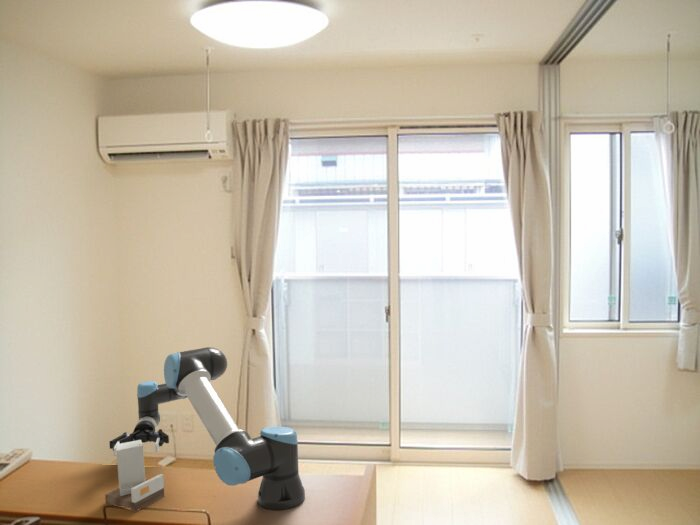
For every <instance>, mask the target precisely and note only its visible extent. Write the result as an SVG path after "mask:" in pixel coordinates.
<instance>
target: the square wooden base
mask: <svg viewBox="0 0 700 525" xmlns="http://www.w3.org/2000/svg"><path fill="white" fill-rule="evenodd" d="M104 496H105V498H104V500H105V504H106V505H109V506H112V505H114V507H116V506H124V507H128V508H131V509H130V510H132V511H131V512H133V511H134V513H136V512H139V511H138V509H140V508H142V509H144V508H146V507H148V506H150V505H151V504H154V503H155V502H157V501H159V500H160V499H163V498H164V497H165V482H164V474H162V473H160V474H158V475H155V476H153V477H151V478H150V479H148V480H147V479H146V480H145V482H143V483H141V484H139V485H137V486H135V487H133V488H131V494H128V495H124V496H120V489H119V487H118V488H116V489H113V490H112V491H110V492H108V493H105V494H104Z"/></svg>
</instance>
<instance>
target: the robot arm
mask: <svg viewBox="0 0 700 525" xmlns="http://www.w3.org/2000/svg"><path fill="white" fill-rule="evenodd" d="M227 368H228V360H227V357H226V354H225V353H223V351H222V350H220V349H218V348H215V347H209V346H207V347H202V348H197V349H196V348H195V349H191V350H186V351H185V350H184V351H177V352H174V353H171V354H168V356H167V357H166V358H165V360H164V364H163V375H164V376H163V378H164V381H165V382H164V383H162V384H158V383H157V382H156V381H155V380H148V381H146V380H145V381H143V382H142V381H141V382H140V383H138V385H137V389H136V392H137V393H136V396H137V406H138V407H137V408H138V412H137V413H138V414H137V415H138V421H137V423H136V424H135V427H134V429H133V431H132V433H129V434H128V432H127V431H125V432H123V433H122V434H120V435H119V436H117V437H116V438H113V439H111V440H110V441H109V449H110V450H112V452H113V456H114V457H117V453H116V444H121V443H126V442H131V441H136V440H141V441H142V444H144V443H148V442H149V443H151V442H152V443H155V444H154V448H155V449H154V450H155V452H156V453H157V452H159V449H160V447H162V446H163V444H169V443H170V437H169V435H168V434H167V433H165V431H163V429H161V428H160V429H158V426H159V425H160V422H161V415H160V412H159V405H160V404H165V403H170V402H174V401H178V400H184V399H188V400H189V402H190V404H191V405H192V407H193V409H194V410H195V412H196V414H197V415H198V417H199V419H200V421H201V422H202V424H203V425H204V428H205V429H206V431H207V432H208V434H209V436H210V438H211V439H212V441H213V443H214V445H215V446H214V447H215V448H214V455H213V459H212V461H213V466H214V470H215V473H216V475H217V476H218V478H219V480H220V481H221V482H223V483H224V484H225V485H228V486H232V487H234V486H237V485H242V484H243V485H244V484H246V483H248V482H250V481H252V480H255V479H258V478H261V477H262V478H261V482H260V486H259V489H258V493H257V503H258V505H260V507H262V508H264V509H268V510H275V511H277V510H278V511H281V510H287V509H288V510H289V509H292V508H294V507H297V506H299V505H301V504H302V503H303V502H304V500H306V493H305V492H306V491H305V488H304V486H303V482H302V479H301V477H300V474H299V472H300V471H299V452H298V451H299V448H298V445H299V442H298V434H297V432H296V431H295V430H294V429H292V428H290V427H287V426H280V425H279V426H275V425H274V426H266V427H263V428H262V429H260V433H259V435H260V436H257V437H254V438H251V435H250V434H249V433H248V432H247V430H244V429H240V428H239V425H237V422H235V419H233V417H232V415H231V413H230V412H229V410H228V408H226V406H225V404H224V402H223V401H222V399H221V398H220V396H219V394H218V393H217V392H216V390H215V389H214V386H213V385H212V384H211V382H210V381H214V380H217V379H218V378H220V377H222V376H223V375H224V374H225V372H226V370H227ZM157 429H158V430H157Z"/></svg>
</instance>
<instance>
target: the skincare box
mask: <svg viewBox="0 0 700 525" xmlns="http://www.w3.org/2000/svg"><path fill="white" fill-rule="evenodd" d="M143 444H144V443H142V441H141V440H136V441H131V442H126V443H121V444H116V453H117V456H116V463H117V476H118V488H119V489H120V496H124V495H128V494H131V488H133V487H135V486H137V485H139V484H141V483H143V482H145V481H146V470H145V469H146V468H145V458H144V445H143Z"/></svg>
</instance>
